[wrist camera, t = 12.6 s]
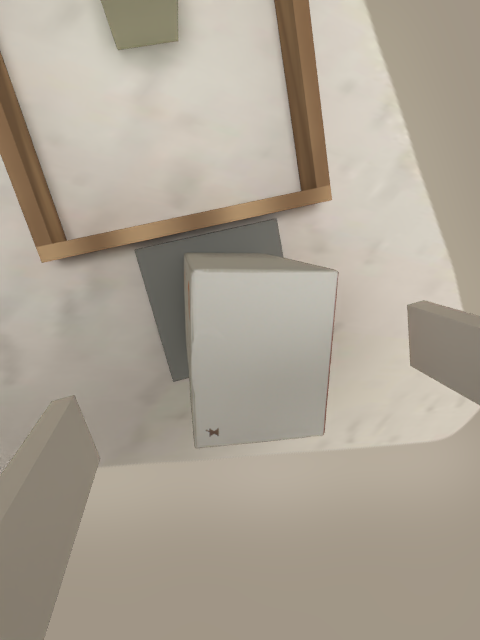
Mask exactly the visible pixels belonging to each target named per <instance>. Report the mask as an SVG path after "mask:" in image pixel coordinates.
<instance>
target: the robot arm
mask: <svg viewBox="0 0 480 640" xmlns="http://www.w3.org/2000/svg"><path fill="white" fill-rule="evenodd" d="M407 310H408V330H409V349H410V366H412V367H414V368H415V369H417V370H419V371H421V372H422V373H424V374H426V375H428V376H429V377H431V378H433V379H435V380H436V381H438V382H440V383H442V384H443V385H445V386H447V387H449V388H450V389H452V390H454V391H456V392H457V393H459V394H461V395H463V396H464V397H466V398H468V399H470V400H471V401H473V402H475V403H477V404H478V405H480V316H477V315H474V314H471V313H467V312H464V311H460V310H456V309H453V308H449V307H446V306H442V305H439V304H435V303H432V302H428V301H420V302H416V303H412V304H409V305H407ZM99 460H100V457H99V455H98V452H97V450H96V447H95V445H94V442H93V440H92V437H91V435H90V432H89V430H88V427H87V425H86V422H85V420H84V418H83V415H82V413H81V410H80V408H79V405H78V403H77V400H76V398H75V395H73V396H70V397H66V398H62V399H59V400H55V401H52V402H51V403H50V405H49V406H48V408H47V409H46V411H45V412H44V414H43V415H42V416H41V418H40V419H39V421H38V422H37V424H36V425H35V427H34V428H33V429H32V431H31V432H30V434H29V435H28V437H27V438H26V440H25V441H24V442H23V444H22V445H21V447H20V448H19V450H18V451H17V453H16V454H15V455H14V457H13V458H12V460H11V461H10V463H9V464H8V466H7V467H6V468H5V470H4V471H3V473H2V474H1V476H0V640H44V637H45V634H46V631H47V628H48V625H49V622H50V618H51V615H52V612H53V609H54V605H55V602H56V599H57V595H58V593H59V589H60V586H61V583H62V580H63V576H64V573H65V570H66V567H67V563H68V560H69V557H70V554H71V550H72V547H73V544H74V541H75V537H76V534H77V531H78V528H79V524H80V522H81V518H82V515H83V512H84V509H85V505H86V502H87V499H88V496H89V493H90V489H91V485H92V483H93V480H94V476H95V473H96V470H97V467H98V464H99Z"/></svg>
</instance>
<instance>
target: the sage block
mask: <svg viewBox="0 0 480 640" xmlns="http://www.w3.org/2000/svg"><path fill="white" fill-rule="evenodd" d="M101 2H102V5H103V8H104V11H105V14H106V17H107V20H108V23H109V26H110V29H111V32H112V35H113V38H114V41H115V44H116V46H117V49H118V50H122V49H129V48H135V47H142V46H148V45H155V44H161V43H168V42H174V41H178V0H101Z"/></svg>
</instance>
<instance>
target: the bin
mask: <svg viewBox="0 0 480 640" xmlns="http://www.w3.org/2000/svg"><path fill="white" fill-rule="evenodd" d="M274 1H275V8H276V15H277V22H278V29H279V36H280V43H281V50H282V57H283V64H284V71H285V78H286V85H287V92H288V100H289V107H290V114H291V121H292V128H293V135H294V142H295V149H296V156H297V163H298V170H299V177H300V184H301V191H300V192H295V193H290V194H286V195H281V196H276V197H272V198H267V199H262V200H257V201H253V202H248V203H243V204H238V205H234V206H229V207H224V208H219V209H215V210H210V211H205V212H201V213H196V214H191V215H186V216H182V217H177V218H172V219H167V220H163V221H158V222H153V223H148V224H144V225H139V226H134V227H129V228H125V229H120V230H115V231H111V232H106V233H101V234H96V235H92V236H87V237H82V238H77V239H73V240H68V241H67V240H66V237H65V234H64V231H63V229H62V226H61V223H60V220H59V217H58V214H57V211H56V209H55V206H54V203H53V200H52V197H51V194H50V192H49V189H48V186H47V183H46V180H45V177H44V175H43V172H42V169H41V166H40V163H39V160H38V157H37V155H36V152H35V149H34V146H33V143H32V140H31V138H30V135H29V132H28V129H27V126H26V123H25V120H24V118H23V115H22V112H21V109H20V106H19V103H18V101H17V98H16V95H15V92H14V89H13V86H12V84H11V81H10V78H9V75H8V72H7V69H6V66H5V64H4V61H3V58H2V55H1V52H0V154H1V157H2V159H3V162H4V164H5V167H6V170H7V172H8V175H9V178H10V180H11V183H12V186H13V188H14V191H15V193H16V196H17V199H18V201H19V204H20V207H21V209H22V212H23V214H24V217H25V220H26V222H27V225H28V228H29V230H30V233H31V235H32V238H33V241H34V243H35V246H36V249H37V251H38V254H39V256H40V259H41V262H42V263H43V262H48V261H52V260H57V259H62V258H66V257H71V256H76V255H80V254H85V253H89V252H94V251H99V250H103V249H108V248H112V247H117V246H122V245H126V244H131V243H136V242H140V241H145V240H149V239H154V238H159V237H163V236H168V235H172V234H177V233H182V232H186V231H191V230H196V229H200V228H205V227H209V226H214V225H219V224H223V223H228V222H232V221H237V220H242V219H246V218H251V217H256V216H260V215H265V214H269V213H274V212H279V211H283V210H288V209H292V208H297V207H302V206H306V205H311V204H315V203H320V202H325V201H329V200H332V196H331V188H330V179H329V171H328V162H327V154H326V145H325V137H324V128H323V120H322V111H321V102H320V94H319V85H318V77H317V68H316V60H315V51H314V43H313V34H312V26H311V17H310V9H309V0H274Z"/></svg>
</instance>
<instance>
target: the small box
mask: <svg viewBox="0 0 480 640" xmlns="http://www.w3.org/2000/svg"><path fill="white" fill-rule="evenodd" d="M338 274H339V272H338V271H336V270H333V269H329V268H326V267H321V266H317V265H312V264H308V263H303V262H299V261H295V260H290V259H286V258H282V257H278V256H273V255H268V254H263V253H185V254H184V299H185V329H186V347H187V356H188V366H189V381H190V397H191V410H192V424H193V436H194V446H195V448H204V447H215V446H227V445H238V444H248V443H258V442H267V441H277V440H285V439H296V438H305V437H312V436H323V435H324V432H325V420H326V408H327V397H328V386H329V374H330V363H331V351H332V341H333V327H334V317H335V306H336V295H337V283H338Z"/></svg>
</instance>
